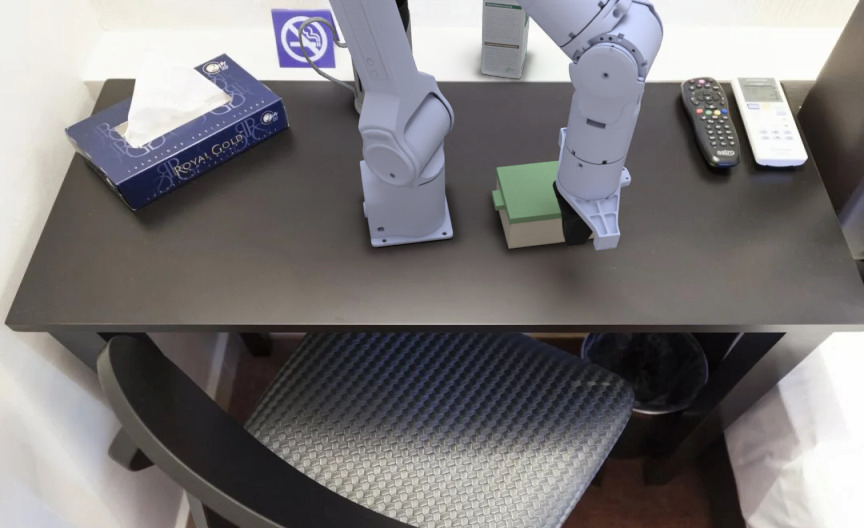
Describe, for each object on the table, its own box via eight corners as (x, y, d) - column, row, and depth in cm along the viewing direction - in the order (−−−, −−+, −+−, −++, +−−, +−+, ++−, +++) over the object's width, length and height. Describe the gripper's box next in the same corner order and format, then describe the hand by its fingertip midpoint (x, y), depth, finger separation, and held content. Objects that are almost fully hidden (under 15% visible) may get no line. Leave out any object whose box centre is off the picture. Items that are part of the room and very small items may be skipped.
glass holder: (426, 116, 89) (421, 11, 77) (321, 137, 87) (299, 33, 74) (409, 76, 94) (402, -29, 81) (309, 95, 91) (286, -10, 79)
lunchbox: (618, 235, 78) (600, 186, 82) (628, 204, 74) (608, 154, 78) (498, 250, 77) (485, 199, 81) (501, 219, 72) (487, 168, 77)
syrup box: (520, 80, 94) (530, -21, 81) (479, 74, 94) (482, -26, 82) (526, 55, 97) (536, -45, 85) (486, 50, 97) (491, -50, 85)
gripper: (666, 196, 56) (630, 290, 67) (616, 86, 64) (592, 187, 75) (584, 205, 55) (563, 299, 67) (545, 93, 63) (531, 194, 74)
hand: (574, 240), depth 71 cm, fingers closed
